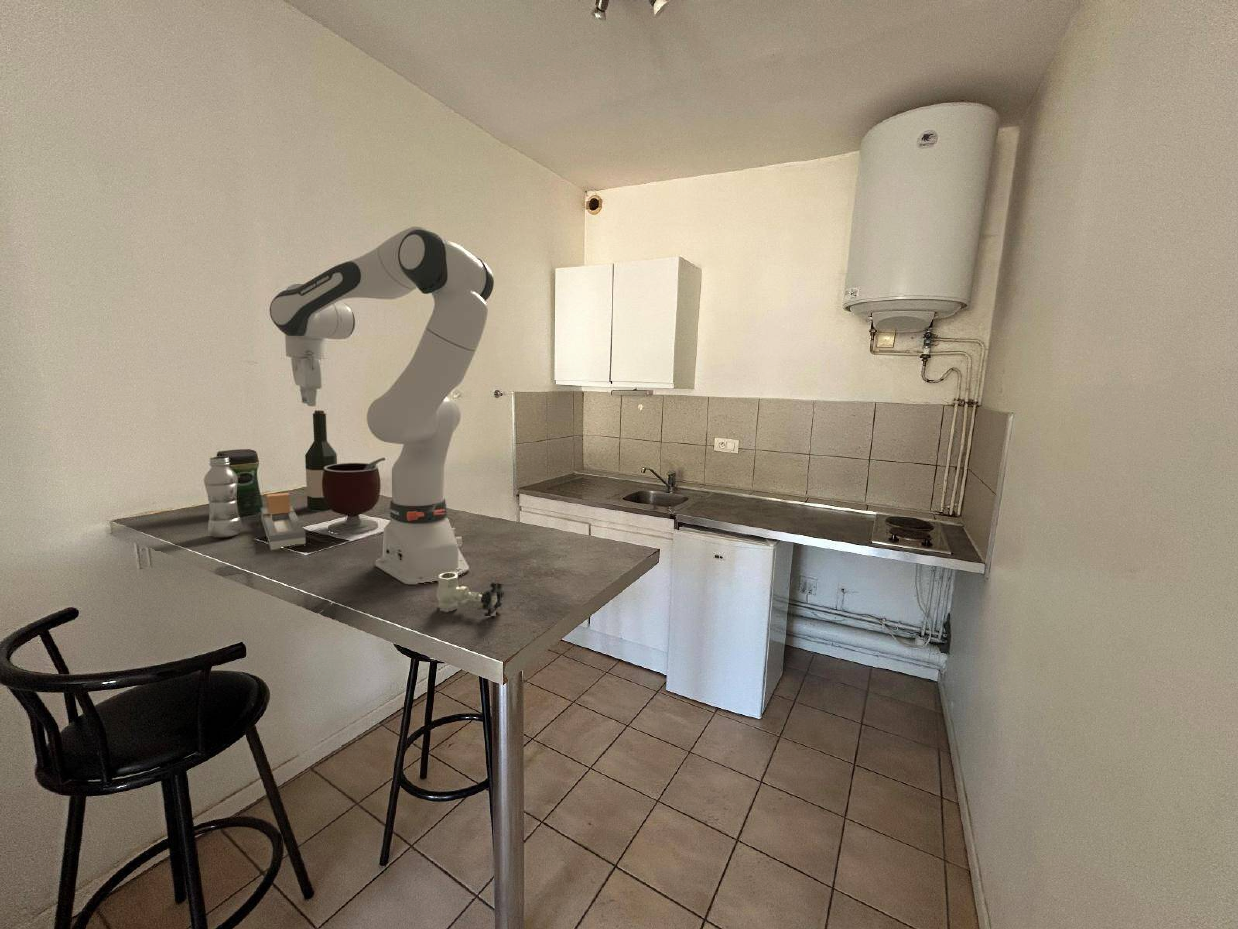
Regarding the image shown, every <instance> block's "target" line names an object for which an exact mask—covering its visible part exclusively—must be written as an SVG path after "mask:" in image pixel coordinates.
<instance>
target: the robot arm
mask: <svg viewBox="0 0 1238 929" xmlns="http://www.w3.org/2000/svg"><path fill="white" fill-rule="evenodd" d="M494 283H495V281H494V274H493V272H492V270H491V269H490V268H489V266H488V264H486V263H485V261H483V260H482V259H481V258H478V257H476V256H474V255H473V254H472V253H470V252H469V251H467V250H466V249H464V248H463V247H462V246H461V245H459V244H457V243H455V242H453V241H451V240H449V239H447V238H444V237H442V236H440V235H439V234H437V233H435V232H433V231H430V230H428V229H426V228H424V227H422V226H411V227H409V228H406V229H404V230H402V231H400V232H397V234H395V235H393V236H391V237H390V238H388V239H386V240H385V241H384V242H383V243H381V244H380V245H378V246H377V247H375V248H374V249H372V250H371V251H369V252H367V253H365V254H363V255H361V256H358V257H357V258H353V259H352V260H348V261H345V262H342V263H340V264H337V265H334V266H333V267H330V268H329V269H327V270H326V271H323V272H321V273H320V274H319V275H317V276H315V277H314V278H312V279H310V280H308V281H307V282H305V283H303V284H302V283H301V284H300V283H298V284H297V283H296V284H292V285H290V286H289V285H288V286H287V287H286V290H285V289H284V290H282V291H280V292H279V293H278V294H276V295H275V297H274V298H273V299H272V301H271V303H270V304H269V317H270V318H271V321H272V322H273V324H274V325H275V326H276V328H277V329H278V330H280V331H281V332H282V333H283V334H284V340H285V341H284V342H285V356H286V357H288V358H290V361H291V368H292V375H293V380H294V384H295V386H299V391H300V396H301V403H303V404H306V406H308V407H316V405H317V395H318V394H317V390H321V389H322V385H323V383H322V382H323V380H322V369H321V365H322V360H327V345H326V344H327V343H326V342H327V341H326V339H328V340H345V339H348V338H350V336H351V335H352V334H353V332H354V331H355V326H356V317H355V314H354V312H353V310H352V308H351V307H350V305H348V304H347V303H345V302H342V300H347V299H353V298H354V299H356V298H359V299H360V298H361V299H362V298H367V299H376V300H395V299H398V298H401V297H404V296H406V295H408V294H410V293H411V292H413V291H414V290H416V289H418V290H419V291H420V293H422V294H424V295H426V294H427V295H428V294H431V295H432V298H433V301H434V305H433V306H434V307H433V310H432V313H431V316H430V318H429V319H428V321H427V324H426V327H425V328H424V331H423V333H422V335H421V338H420V340H419V343H418V345H417V347H416V349H415V351H414V354H413V356H412V358H411V359H410V361H409V363H408V365H407V366H406V367H405V369H404V370H403V371H402V373H401V374H400V375H399V376H398V377H397V379H395V382H394V383H393V384H392V385H391V386H390V388H388V389H387V390H386V392H384V393H383V394H382V395H381V396H379V397H378V398H376V399H375V400H374V401H372V402H371V404H370V405H369V407H368V408H367V413H366V423H367V426H368V428H369V431H370V432H371V434H372V435H373V436H374V437H375V438H376V439H378V440H380V441H382V442H384V443H388V444H394V445H395V444H396V445H402V448H401V451H400V454H399V456H398V457H397V460H395V462H394V463H393V465H392V468H391V492H392V493H391V498H392V499H391V501H390V505H389V516H390V520H389V522H388V524H386V526H384V528H383V535H382V536H383V537H382V538H383V539H382V541H383V542H382V556H381V557H379V558H378V559H376V560H375V563H374V564H375V567H377V568H378V569H380V570H382V571H383V572H385V573H387V575H390V576H392V577H393V578H395V579H396V580H399V581H400V582H401V583H403V584H405V585H419V584H418V583H424V582H431V583H433V582H432V581H436V580H438V578H439V575H440V574H442V573H445V572H454V573H457V574H458V575H460V574H462V573H463V572H466V571H467V570H469V571H470V566H469V565H468V562H467V561H466V559H465V558H464V556H463V554H462V552H461V551H460V549H459V547H462V546H463V538H462V536H455V534H456V528H455V527H452V526H451V523H450V518H449V519H448V510H447V509H448V506H447V502H446V499H445V497H444V495H445V490H444V489H445V467H446V466H445V465H446V460H447V456H448V451H449V449H450V448H449V447H450V443H451V440H452V438H453V434H454V432H455V431H456V429H457V428H458V426H459V424H460V422H461V416H462V415H461V409H460V407H459V405H458V403H457V402H456V400H454V398H452V397H450V396H449V395H450V394H451V392H453V390H454V389H455V388H457V387H458V386H459V385H460V384H461V383H462V382H463V380H464V378H465V376H466V373H467V372H468V370H469V368H470V364H471V362H472V361H473V358H474V356H475V353H476V352H477V348H478V346H479V343H480V341H481V339H482V336H483V332H484V329H485V327H486V322H487V319H488V313H489V312H488V311H489V309H488V305H487V302H486V301H487V300H488V299H489V298H490V296H491V295H492V293H493V289H494V285H495V284H494ZM424 584H425V583H424Z"/></svg>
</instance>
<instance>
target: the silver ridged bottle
mask: <svg viewBox="0 0 1238 929" xmlns="http://www.w3.org/2000/svg"><path fill="white" fill-rule="evenodd" d="M229 465H230V462H229V457H225V456H220V457H216V456H212V457H210V458H209V466H210V467H211V468H209V470H208V471H207V472H206V474H205V475H204V478H203V483H204V487H205V490H206V494H207V499H208V505H209V508H208V509H209V510H208V511H209V514H208V515H209V516H208V523H207V531H208V533H209V535H210V536H211V537H213V538H220V539H221V538H230V537H234V536H237V535H238V534H240V532H241V531H242V527H243V524H242V520H241V516H239V513H238V508H237V500H236V498H237V482H238V478H237V475H236V474H235V473H234V471H233V470H232V469H231V468H229Z"/></svg>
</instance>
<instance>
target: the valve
mask: <svg viewBox="0 0 1238 929" xmlns="http://www.w3.org/2000/svg"><path fill="white" fill-rule="evenodd" d="M458 577H459V576H458V574H457V573H454V572H445V573H442V574H440V575H439V578H438V581H437V582H438V586H437V587H436V590H435V595H436V599H437V600H438V607H441V608H446V609H448V608H451V607H453V606H457V607H458V603H461V604H465V603H466V602H467V601H470V602H475V603H479V602H480V603H481V604H482V606H481V607H482V608H481V609H482V610H485V611H487V612H485V613H484V617H485V616H491V614H492V613H493V612H494V611H495V610H496V609H497V608H498V607H500V606H501V605H502V606H503V603H502V602H501V601H502V598H503V597H504V596H505V591H503V590H502V588H503V586H504V585H503V583H501V582H491V583H490V585H489V587H490V588H492V589H490V590H486V591H485V592H484V593H482V594H481V592H478V591H470V587H467V586H464V585H463V586H459V583H458V582H459V581H458ZM495 594H496V595H495ZM492 605H493V607H492ZM497 610H498V609H497Z"/></svg>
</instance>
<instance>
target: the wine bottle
mask: <svg viewBox="0 0 1238 929" xmlns="http://www.w3.org/2000/svg"><path fill="white" fill-rule="evenodd" d="M312 420H313V421H312V425H313V428H312V430H313V442H312V443H311V445H310V447H309V449H308V450H307V451H306V453H305V455H304V458H305V459H304V462H305V481H306V502H307V503H306V504H307V510H310V511H312V510H313V512H327V511H332V510H331V509H330V508H329V507H328V506H327V505H326V503H325V500H324V496H323V491H322V478H323V472H324V467H325V466H328V465H333V464H338V454H337V452H336V451H335V449H334V448H333V447H332V445H331V444H330V443H329V441H328V432H327V428H328V427H327V413H326V412H325V410H317V409H316V410H314V412H313V413H312ZM326 510H327V511H326Z"/></svg>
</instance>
